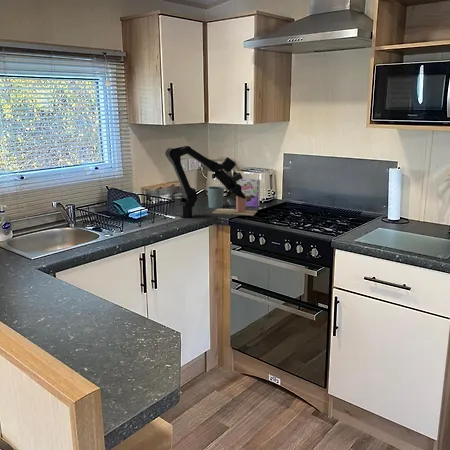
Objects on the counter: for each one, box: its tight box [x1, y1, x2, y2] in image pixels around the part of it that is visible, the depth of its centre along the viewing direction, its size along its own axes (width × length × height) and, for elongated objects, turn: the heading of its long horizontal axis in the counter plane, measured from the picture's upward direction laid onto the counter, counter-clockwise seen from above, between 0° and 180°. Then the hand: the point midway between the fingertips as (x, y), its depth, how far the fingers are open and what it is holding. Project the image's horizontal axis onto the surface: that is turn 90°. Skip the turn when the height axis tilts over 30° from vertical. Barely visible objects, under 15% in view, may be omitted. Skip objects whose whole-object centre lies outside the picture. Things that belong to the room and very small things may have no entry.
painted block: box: [235, 193, 247, 212], centre depth 274 cm, size 4×4×10 cm
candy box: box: [236, 178, 261, 208], centre depth 291 cm, size 14×6×16 cm, turn 73°
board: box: [211, 208, 258, 217], centre depth 274 cm, size 12×24×1 cm, turn 75°
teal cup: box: [207, 185, 225, 209], centre depth 289 cm, size 10×10×12 cm
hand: (243, 196), depth 273 cm, fingers open, 9 cm apart
